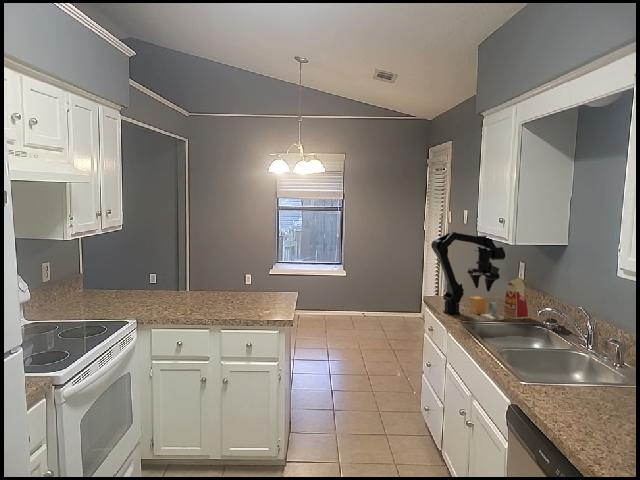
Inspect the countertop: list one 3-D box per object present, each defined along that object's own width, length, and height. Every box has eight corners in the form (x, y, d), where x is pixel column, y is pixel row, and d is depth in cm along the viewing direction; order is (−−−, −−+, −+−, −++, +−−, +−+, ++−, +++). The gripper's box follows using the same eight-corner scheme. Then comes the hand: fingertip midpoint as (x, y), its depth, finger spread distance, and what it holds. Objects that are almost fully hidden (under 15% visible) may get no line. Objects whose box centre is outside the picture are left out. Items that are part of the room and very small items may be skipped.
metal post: (492, 316, 232) (492, 303, 232) (488, 315, 235) (488, 302, 234) (496, 315, 233) (496, 303, 233) (493, 314, 236) (493, 301, 235)
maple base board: (492, 320, 229) (492, 318, 229) (480, 316, 237) (480, 313, 237) (504, 319, 231) (504, 317, 231) (492, 315, 240) (492, 312, 239)
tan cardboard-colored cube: (476, 313, 242) (476, 299, 241) (469, 311, 247) (469, 297, 247) (485, 313, 244) (485, 298, 243) (478, 310, 249) (478, 296, 248)
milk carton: (516, 313, 242) (517, 275, 240) (529, 318, 233) (531, 278, 231) (501, 315, 239) (502, 276, 237) (514, 319, 230) (515, 279, 228)
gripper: (509, 262, 239) (507, 292, 240) (485, 257, 256) (483, 286, 258) (490, 262, 235) (489, 293, 237) (467, 257, 253) (466, 286, 254)
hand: (482, 289), depth 246 cm, fingers open, 9 cm apart
